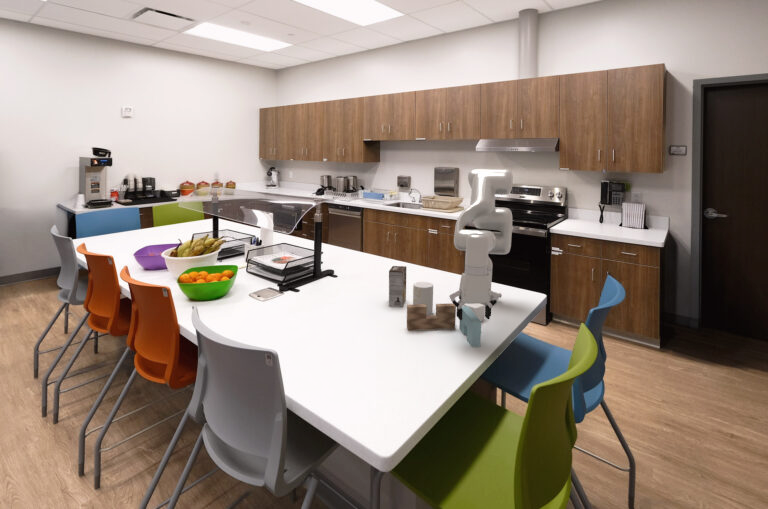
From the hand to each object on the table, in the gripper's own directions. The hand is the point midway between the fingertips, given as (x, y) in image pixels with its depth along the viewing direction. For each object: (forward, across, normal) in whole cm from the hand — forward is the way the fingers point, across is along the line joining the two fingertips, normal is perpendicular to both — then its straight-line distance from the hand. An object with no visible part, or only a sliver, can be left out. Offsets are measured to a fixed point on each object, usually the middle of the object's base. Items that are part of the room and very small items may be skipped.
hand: (473, 318), depth 153 cm
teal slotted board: (+9, 0, -5) cm, 10 cm away
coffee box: (+8, +21, -44) cm, 49 cm away
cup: (+9, +12, -32) cm, 35 cm away
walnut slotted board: (+9, +12, -15) cm, 21 cm away
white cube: (+9, -7, -23) cm, 25 cm away
